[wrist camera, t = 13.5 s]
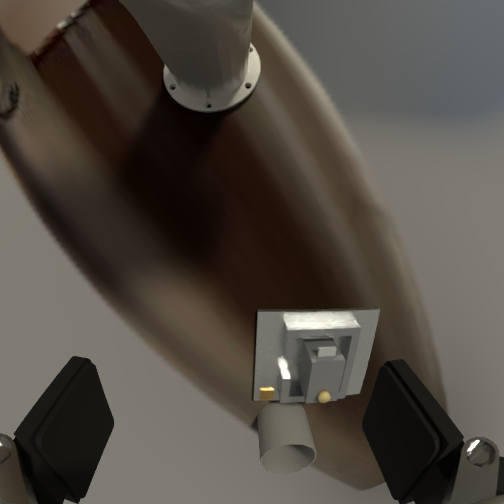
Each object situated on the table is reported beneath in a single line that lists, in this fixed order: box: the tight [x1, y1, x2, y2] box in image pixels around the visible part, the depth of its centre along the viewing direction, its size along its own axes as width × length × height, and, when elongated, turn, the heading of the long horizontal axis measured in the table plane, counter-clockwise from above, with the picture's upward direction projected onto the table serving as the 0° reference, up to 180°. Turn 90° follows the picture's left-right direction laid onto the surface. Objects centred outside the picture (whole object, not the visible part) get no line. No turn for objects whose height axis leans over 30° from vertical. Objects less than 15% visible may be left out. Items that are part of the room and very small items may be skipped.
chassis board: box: [253, 307, 380, 403], centre depth 40 cm, size 16×18×3 cm
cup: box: [258, 401, 317, 473], centre depth 39 cm, size 8×8×10 cm
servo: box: [299, 339, 346, 403], centre depth 37 cm, size 9×4×7 cm, turn 178°
